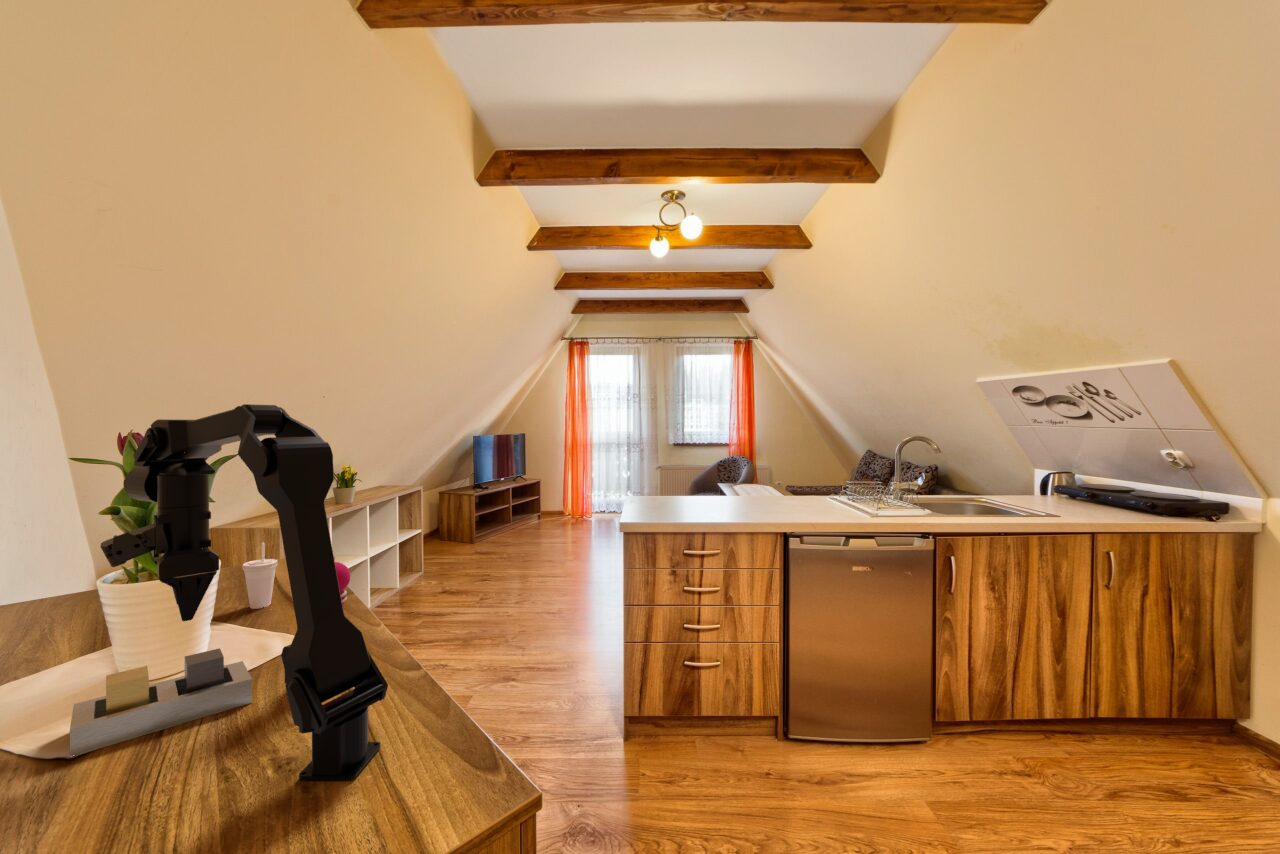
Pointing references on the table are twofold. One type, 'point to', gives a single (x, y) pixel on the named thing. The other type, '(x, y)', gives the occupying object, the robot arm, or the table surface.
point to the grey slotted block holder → (164, 703)
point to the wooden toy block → (127, 690)
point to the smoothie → (260, 580)
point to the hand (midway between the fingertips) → (184, 612)
